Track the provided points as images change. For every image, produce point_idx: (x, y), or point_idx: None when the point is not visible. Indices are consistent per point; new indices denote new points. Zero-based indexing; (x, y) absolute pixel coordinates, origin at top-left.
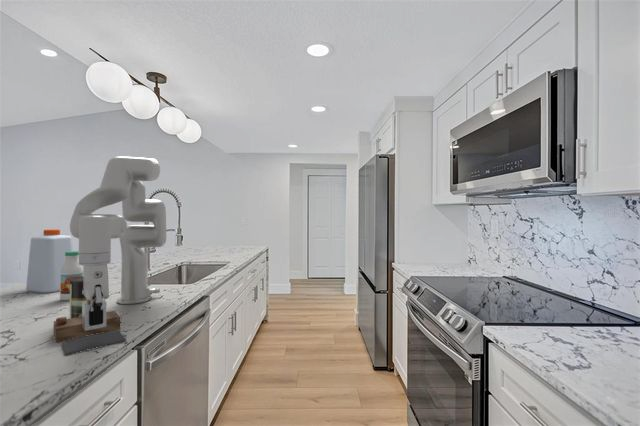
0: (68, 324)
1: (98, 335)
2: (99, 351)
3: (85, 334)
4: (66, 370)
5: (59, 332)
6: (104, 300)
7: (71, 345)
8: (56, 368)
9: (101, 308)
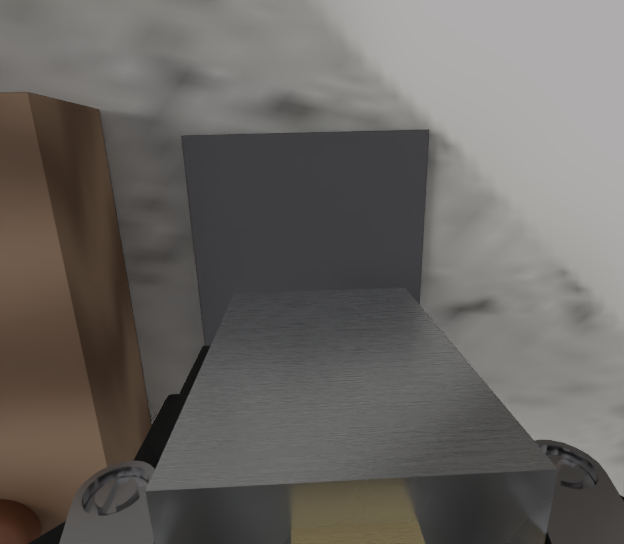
0: (58, 489)
1: (210, 278)
2: (477, 297)
3: (131, 343)
4: (600, 437)
5: None
6: (368, 485)
7: None
8: None
9: (595, 482)
